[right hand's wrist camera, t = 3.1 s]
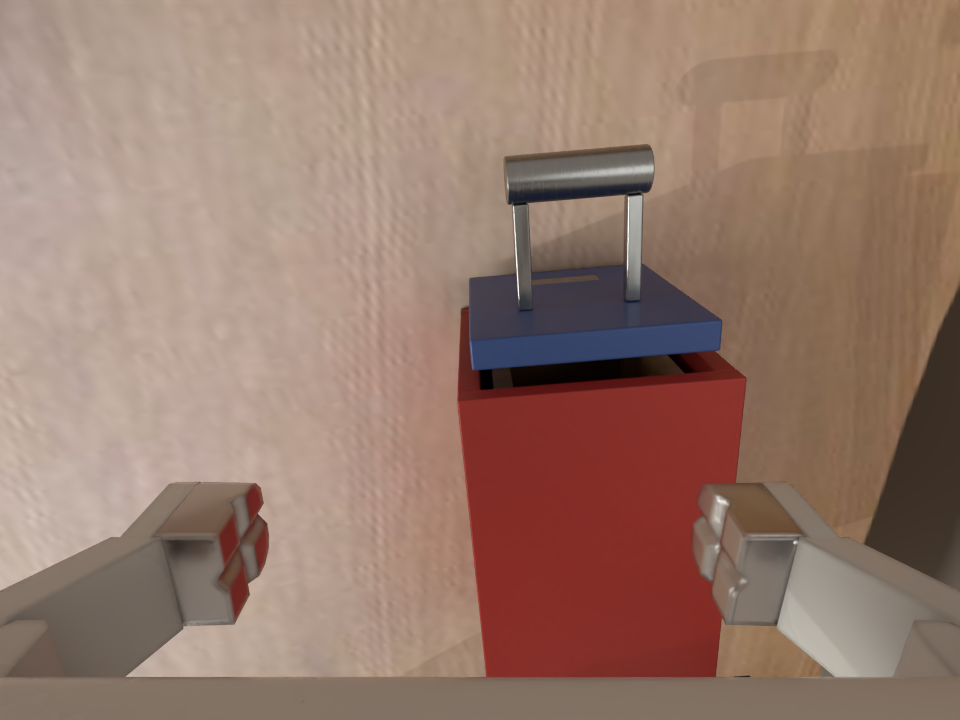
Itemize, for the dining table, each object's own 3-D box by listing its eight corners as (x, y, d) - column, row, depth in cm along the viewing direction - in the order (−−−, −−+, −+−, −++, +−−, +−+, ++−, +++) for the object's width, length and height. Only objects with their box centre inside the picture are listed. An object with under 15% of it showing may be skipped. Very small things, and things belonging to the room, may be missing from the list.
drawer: (458, 156, 27) (452, 164, 18) (646, 139, 27) (738, 139, 18) (495, 578, 37) (504, 725, 27) (634, 568, 36) (690, 712, 27)
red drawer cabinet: (460, 308, 31) (456, 400, 20) (648, 292, 31) (747, 377, 20) (489, 604, 38) (497, 787, 28) (639, 592, 38) (706, 772, 28)
